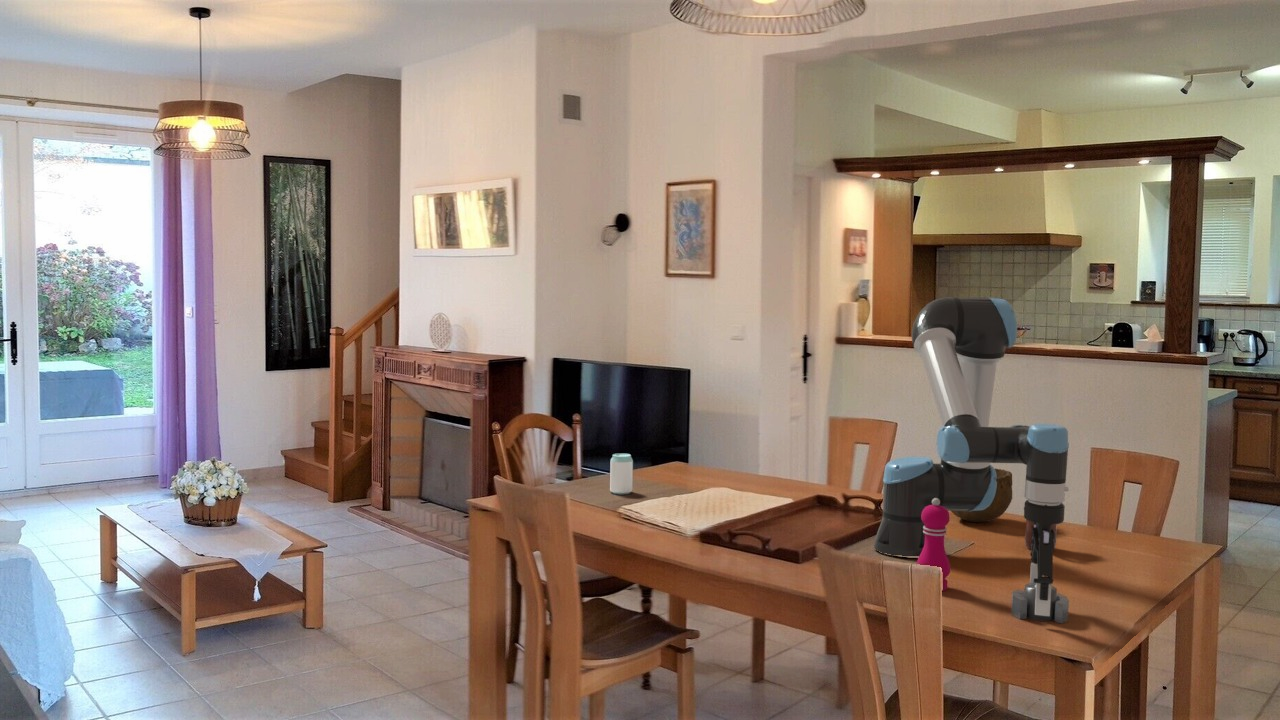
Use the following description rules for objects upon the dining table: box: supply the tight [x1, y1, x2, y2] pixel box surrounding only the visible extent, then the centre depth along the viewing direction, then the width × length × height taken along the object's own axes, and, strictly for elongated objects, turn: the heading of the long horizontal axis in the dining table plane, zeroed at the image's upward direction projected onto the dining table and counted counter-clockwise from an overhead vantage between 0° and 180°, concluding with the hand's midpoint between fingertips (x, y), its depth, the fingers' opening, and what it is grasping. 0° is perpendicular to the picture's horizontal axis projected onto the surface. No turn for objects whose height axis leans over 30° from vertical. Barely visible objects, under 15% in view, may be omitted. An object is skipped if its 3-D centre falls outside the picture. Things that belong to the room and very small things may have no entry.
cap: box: [1024, 582, 1058, 622], centre depth 208 cm, size 6×6×6 cm
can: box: [609, 453, 634, 495], centre depth 322 cm, size 7×7×12 cm
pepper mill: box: [916, 498, 951, 592], centre depth 226 cm, size 7×7×20 cm
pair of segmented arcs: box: [1010, 589, 1070, 624], centre depth 208 cm, size 10×7×4 cm
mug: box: [1024, 519, 1058, 551], centre depth 260 cm, size 12×9×10 cm
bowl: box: [951, 467, 1013, 523], centre depth 291 cm, size 19×19×15 cm
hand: (1039, 604), depth 208 cm, fingers open, 13 cm apart
